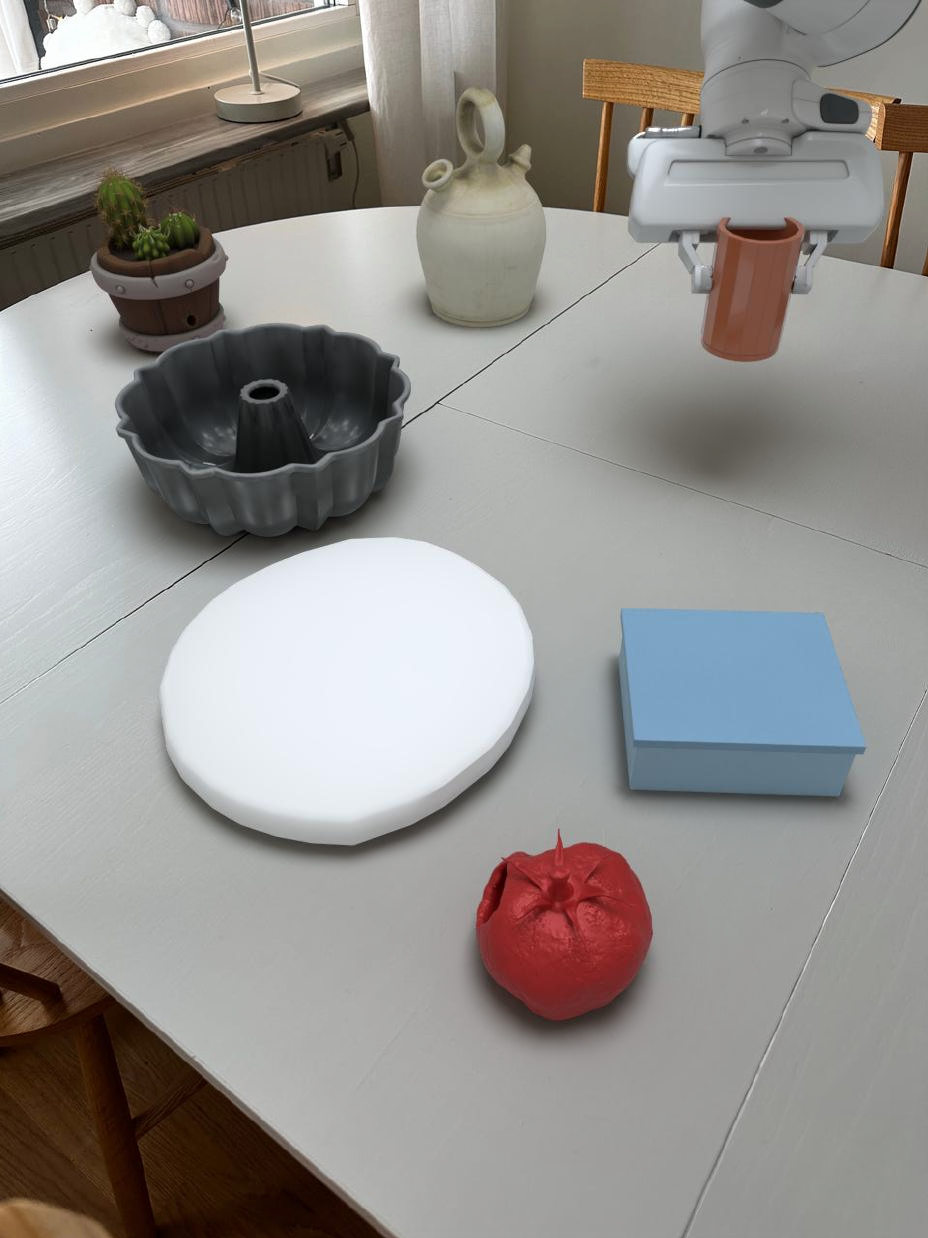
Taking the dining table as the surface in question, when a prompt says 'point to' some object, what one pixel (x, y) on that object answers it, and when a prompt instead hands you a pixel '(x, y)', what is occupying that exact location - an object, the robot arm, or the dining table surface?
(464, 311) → the jug
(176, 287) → the flowerpot
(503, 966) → the pomegranate
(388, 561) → the plate
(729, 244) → the cup
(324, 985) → the dining table surface
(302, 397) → the bundt pan
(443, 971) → the dining table surface
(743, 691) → the container
